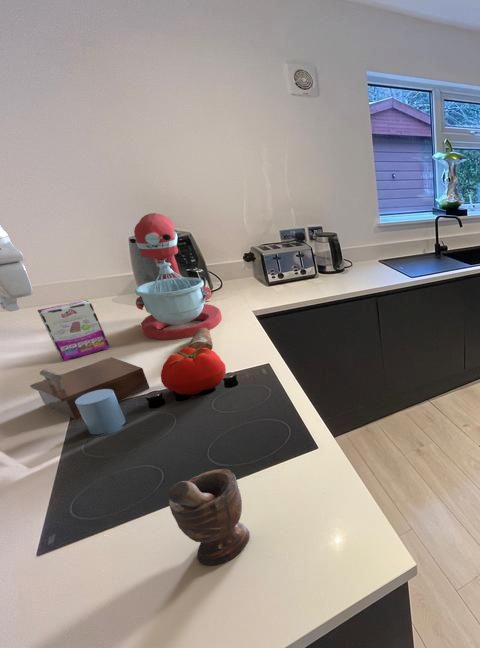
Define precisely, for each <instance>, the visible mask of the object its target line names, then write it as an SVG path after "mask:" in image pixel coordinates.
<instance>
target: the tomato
mask: <svg viewBox="0 0 480 648" xmlns="http://www.w3.org/2000/svg"><path fill="white" fill-rule="evenodd" d="M226 370H227V369H226V364H225V362H224V361H223V360H222V359H221V357H220V356H219V355H218V353H216V352H215V351H214V350H213V349H212V350H210V349H208V348H201V347H200V349H199V348H198V349H194V348H189V347H188V346H187V347H183V348H180V349H179V351H177V352H176V353H174V354H171V355H170V356H168V358H167V359H166V360H165V361H164V362H163V365H162V368H161V372H160V382H161V383H162V385H163V386H164V388H166V389H167V390H169V391H171V392H174V393H176V394H178V395H189V396H190V395H198V394H200V393H201V392H203V391H208V390H212V389H214V388H216V387H217V386H219V385H220V384H221V382H223V380H224V378H225V376H226V373H227V371H226Z"/></svg>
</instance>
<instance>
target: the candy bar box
mask: <svg viewBox="0 0 480 648" xmlns="http://www.w3.org/2000/svg"><path fill="white" fill-rule="evenodd" d="M37 313H38V315H39V317H40V319H41V321H42V323H43V325H44V327H45V329H46V331H47V333H48V335H49V337H50V339H51V341H52V344H53V346H54V347H55V350H56V352H57V354H58V356H59V357H60V358H61V360H62V361H63V362H65V361H69V360H74V359H76V358H81V357H84V356H88V355H91V354H95V353H98V352H102V351H105V350H109V349H110V348H111V346H110V344H109V342H108V339H107V337H106V334H105V333H104V330H103V328H102V325H101V323H100V321H99V318H98V315H97V314H96V312H95V309H94V306H93V304H92V302H91V301H89V300H87V299H84V300H79V301H74V302H70V303H69V302H68V303H64V304H60V305H55V306H49V307H45V308H39V309H37Z"/></svg>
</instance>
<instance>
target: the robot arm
mask: <svg viewBox="0 0 480 648" xmlns="http://www.w3.org/2000/svg"><path fill="white" fill-rule="evenodd" d="M25 260H26V259H25V256H24V253H22V251H21V250H20V249H18V248H16V247H15V246H14V244H13V243H12V240H11V238H10V236H9V235H8V233H7V232H6V230H5V229H4V228H3V227H2V225H1V224H0V307H1V309H2V310H3V311H4V310H5V311H7V312H15V311H19V310H20V307H19V303H18V300H17V299H20V298H21V299H22V298H25V297H30V296H32V295H33V293H34V292H33V291H34V290H33V286H32V282H31V279H30V276H29V273H28V271H27V269H26V266H25V265H24V263H23V262H25Z"/></svg>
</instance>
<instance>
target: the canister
mask: <svg viewBox="0 0 480 648" xmlns="http://www.w3.org/2000/svg"><path fill="white" fill-rule="evenodd" d="M75 404H76V406H77V408H78V410H79V412H80V414H81V416H82V417H81V418H82V421H83V423H84V425H85V427H86V429H87V431H88V433H89V434H91V435H100V436H98V437H99V438H101V437H106V436H109V435H112V434H115V433H117V432H119V431H121V430H123V428H125V427H126V426H127V423H126V421H127V419H126V417H125V415H124V413H123V410H122V408H121V405H120V403H119V401H118V400H117V398H116V396H115V393H114V391H113V390H111V389H102V390H96V391H93V392H89V393H87V394H84V395H82V396H80V397H79V398H78V399H76V401H75Z"/></svg>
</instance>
